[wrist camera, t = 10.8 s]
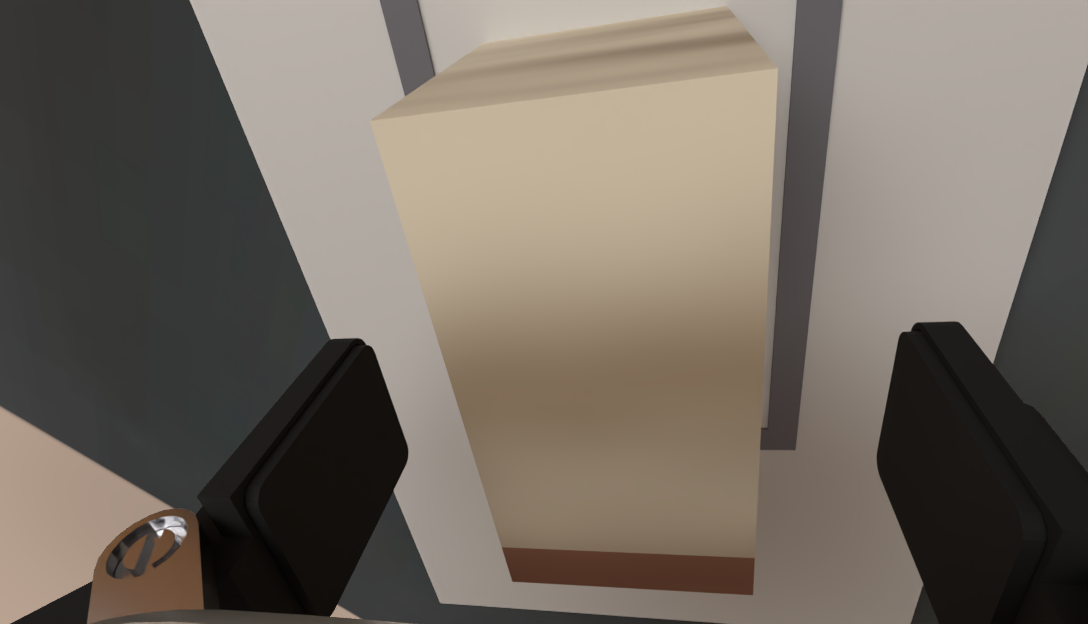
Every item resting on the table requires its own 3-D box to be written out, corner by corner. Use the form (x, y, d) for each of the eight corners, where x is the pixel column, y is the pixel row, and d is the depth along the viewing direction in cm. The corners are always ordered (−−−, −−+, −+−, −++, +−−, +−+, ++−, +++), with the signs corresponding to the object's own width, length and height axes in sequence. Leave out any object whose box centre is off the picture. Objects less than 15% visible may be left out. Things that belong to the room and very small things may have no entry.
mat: (900, 620, 22) (907, 639, 21) (444, 590, 26) (439, 605, 25) (1159, -243, 9) (1192, -253, 9) (188, -48, 13) (166, -47, 13)
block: (482, 42, 13) (370, 121, 8) (726, 5, 12) (778, 67, 7) (552, 398, 18) (512, 581, 13) (725, 396, 17) (753, 595, 12)
